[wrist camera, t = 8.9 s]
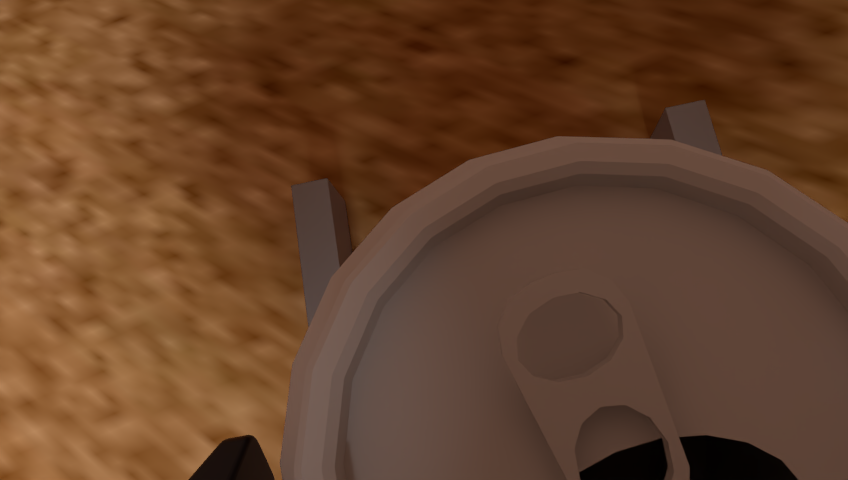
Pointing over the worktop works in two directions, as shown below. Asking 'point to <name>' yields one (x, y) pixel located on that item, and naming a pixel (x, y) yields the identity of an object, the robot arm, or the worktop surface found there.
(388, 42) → the worktop surface
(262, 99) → the worktop surface
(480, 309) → the can
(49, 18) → the worktop surface
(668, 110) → the guide rails
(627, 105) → the worktop surface
